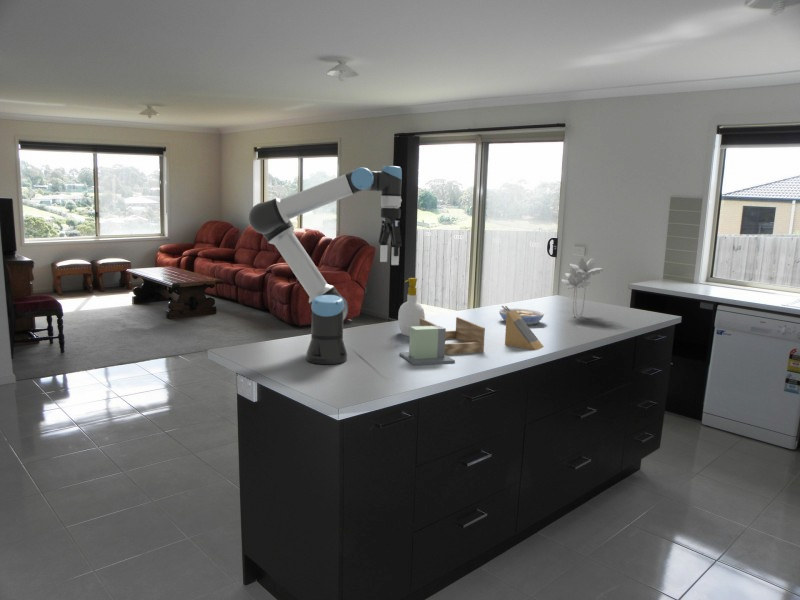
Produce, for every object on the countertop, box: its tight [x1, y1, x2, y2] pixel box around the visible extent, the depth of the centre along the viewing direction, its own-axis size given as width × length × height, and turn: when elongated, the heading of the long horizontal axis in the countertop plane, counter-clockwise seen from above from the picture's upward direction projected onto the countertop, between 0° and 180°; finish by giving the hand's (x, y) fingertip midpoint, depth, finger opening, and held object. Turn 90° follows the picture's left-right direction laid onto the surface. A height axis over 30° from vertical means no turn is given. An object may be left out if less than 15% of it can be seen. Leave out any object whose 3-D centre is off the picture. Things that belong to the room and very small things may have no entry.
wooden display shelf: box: [420, 316, 486, 355], centre depth 247 cm, size 18×25×10 cm
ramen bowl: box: [498, 305, 545, 326], centre depth 300 cm, size 25×23×8 cm
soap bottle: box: [397, 277, 426, 337], centre depth 264 cm, size 14×9×26 cm, turn 45°
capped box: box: [408, 325, 447, 359], centre depth 224 cm, size 12×6×11 cm, turn 110°
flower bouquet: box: [560, 256, 604, 318], centre depth 315 cm, size 17×34×21 cm
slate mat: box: [399, 351, 456, 366], centre depth 225 cm, size 16×16×1 cm
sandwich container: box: [504, 310, 545, 351], centre depth 249 cm, size 9×15×15 cm, turn 52°
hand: (389, 263), depth 230 cm, fingers open, 13 cm apart
